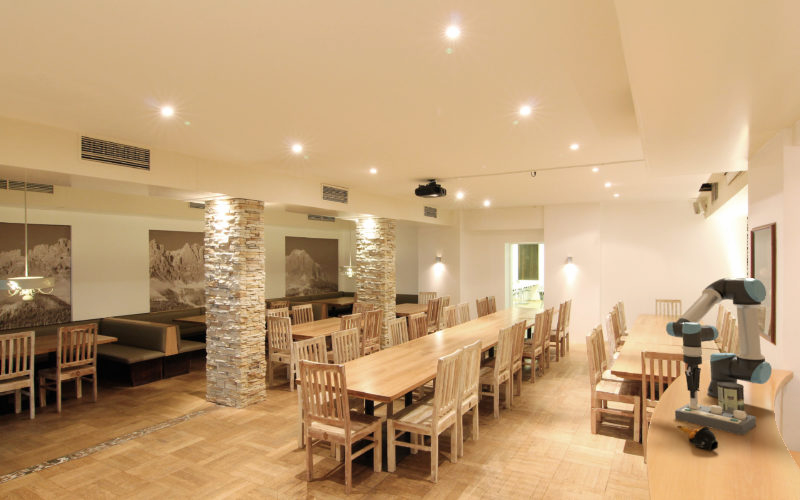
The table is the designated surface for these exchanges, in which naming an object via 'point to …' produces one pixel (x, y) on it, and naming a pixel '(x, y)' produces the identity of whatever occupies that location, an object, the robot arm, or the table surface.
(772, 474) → the table surface
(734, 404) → the coffee can
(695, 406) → the end button
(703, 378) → the table surface
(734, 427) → the button board
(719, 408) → the middle button
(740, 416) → the end button
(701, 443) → the black bulb with handle
